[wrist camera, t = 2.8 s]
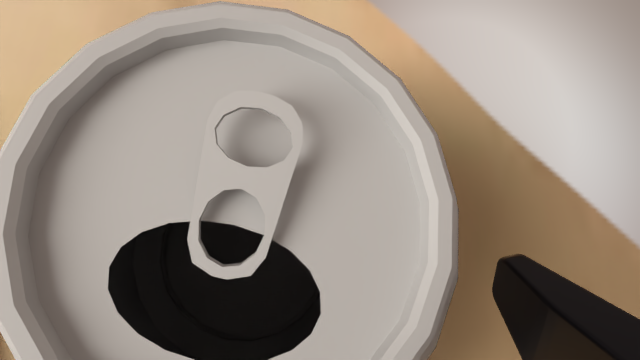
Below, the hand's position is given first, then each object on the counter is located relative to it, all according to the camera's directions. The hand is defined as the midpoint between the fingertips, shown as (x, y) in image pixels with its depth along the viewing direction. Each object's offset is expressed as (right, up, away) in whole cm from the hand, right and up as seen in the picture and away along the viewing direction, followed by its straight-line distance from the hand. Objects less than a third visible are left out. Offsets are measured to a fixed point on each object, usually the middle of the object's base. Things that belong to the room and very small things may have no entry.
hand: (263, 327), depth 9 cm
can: (-2, 0, +10) cm, 10 cm away
